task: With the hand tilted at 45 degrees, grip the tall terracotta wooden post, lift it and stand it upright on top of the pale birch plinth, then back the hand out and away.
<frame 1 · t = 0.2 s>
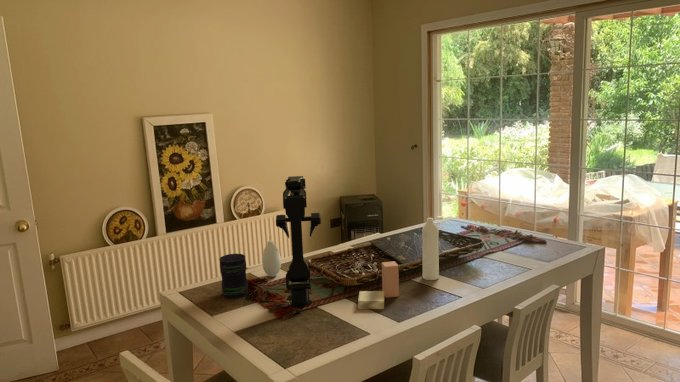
hand: (299, 237, 215), 15 cm above the table, tool pointing down, fingers open, 9 cm apart
storage jar: (235, 294, 195), on the table
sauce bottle: (272, 276, 213), on the table
birch plinth: (371, 303, 181), on the table
terracotta post: (390, 294, 189), on the table
water bottle: (433, 277, 204), on the table
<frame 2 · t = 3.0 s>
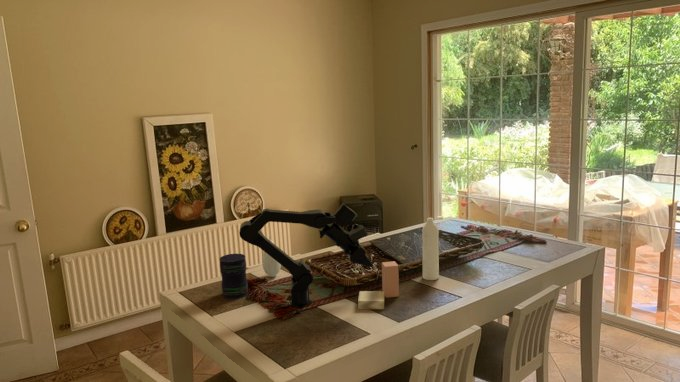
hand: (369, 262, 185), 13 cm above the table, tool tilted 45°, fingers open, 9 cm apart
nothing on the table moved.
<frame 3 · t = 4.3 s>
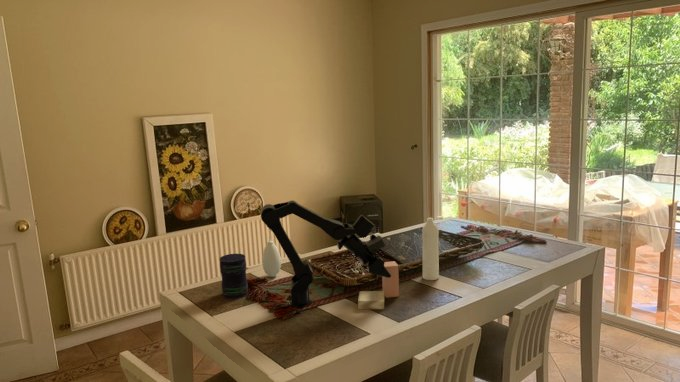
hand: (387, 272, 187), 9 cm above the table, tool tilted 45°, fingers open, 9 cm apart
nothing on the table moved.
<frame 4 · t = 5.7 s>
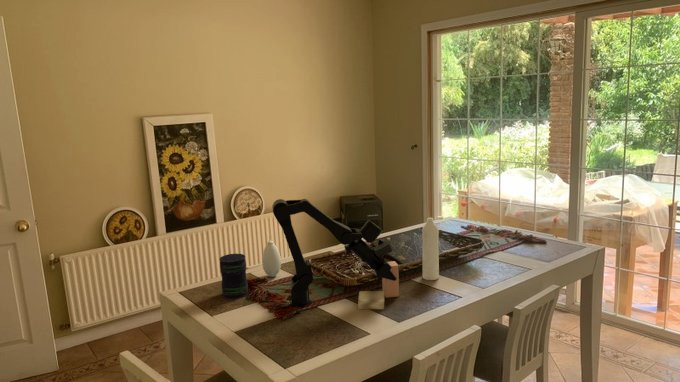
hand: (393, 277, 188), 7 cm above the table, tool tilted 45°, fingers closed on terracotta post, 5 cm apart
terracotta post: (390, 294, 189), on the table, touching gripper
everything else where it was.
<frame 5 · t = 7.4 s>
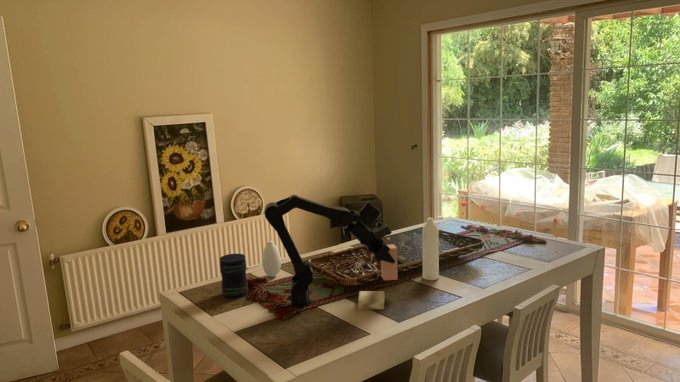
hand: (392, 260, 186), 13 cm above the table, tool tilted 45°, fingers closed on terracotta post, 5 cm apart
terracotta post: (389, 277, 187), point 7 cm above the table, touching gripper
everything else where it was.
when the fingers open (11 cm above the table, at t = 9.3 s): terracotta post drops 1 cm, resting on birch plinth.
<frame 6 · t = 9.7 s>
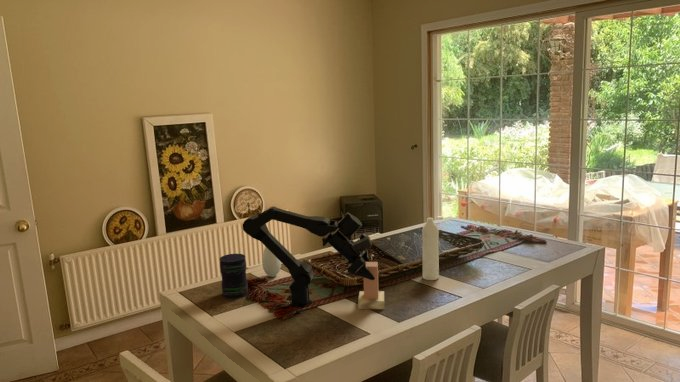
hand: (374, 274, 179), 11 cm above the table, tool tilted 45°, fingers open, 9 cm apart
terracotta post: (371, 296, 180), point 3 cm above the table, touching birch plinth
everything else where it was.
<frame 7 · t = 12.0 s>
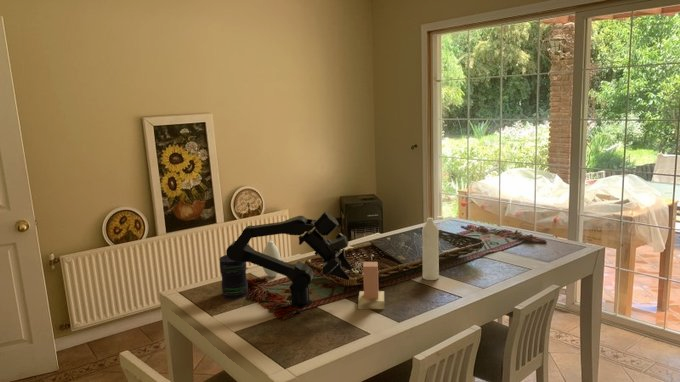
hand: (350, 274, 180), 11 cm above the table, tool tilted 45°, fingers open, 9 cm apart
nothing on the table moved.
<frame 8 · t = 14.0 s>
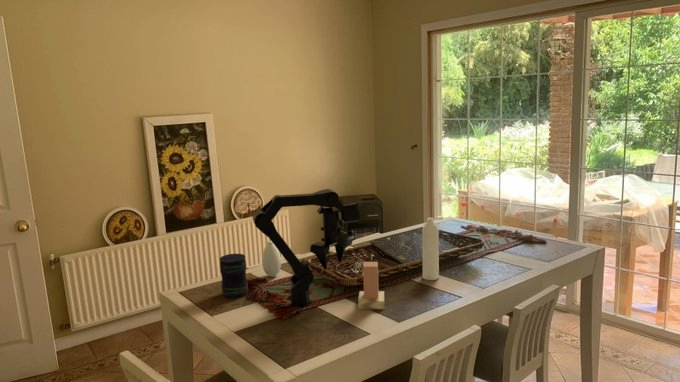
hand: (332, 265, 184), 13 cm above the table, tool pointing down, fingers open, 9 cm apart
nothing on the table moved.
at the end: terracotta post 0.0 cm off-centre on the birch plinth, point 3.0 cm above the birch plinth's base; terracotta post tilted 0°; the gripper is holding nothing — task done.
